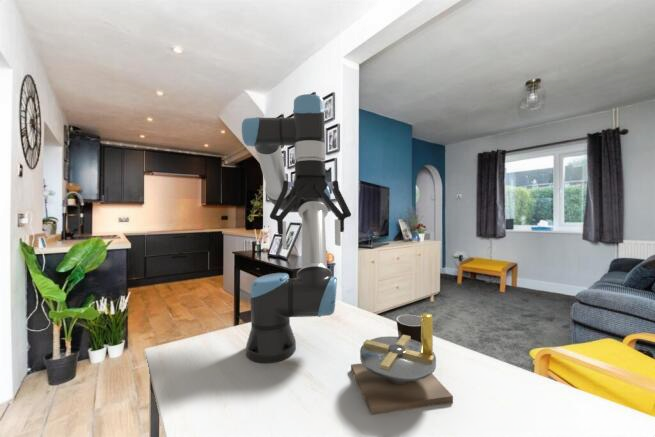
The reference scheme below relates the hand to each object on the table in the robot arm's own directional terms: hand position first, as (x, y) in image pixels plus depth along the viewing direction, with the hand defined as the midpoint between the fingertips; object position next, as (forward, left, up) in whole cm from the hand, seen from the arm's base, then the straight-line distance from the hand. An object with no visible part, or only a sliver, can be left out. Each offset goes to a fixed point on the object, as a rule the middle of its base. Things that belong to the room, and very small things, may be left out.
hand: (311, 246), depth 72 cm
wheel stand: (+6, +20, -34) cm, 40 cm away
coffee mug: (-9, +31, -35) cm, 47 cm away
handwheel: (+6, +20, -28) cm, 35 cm away
